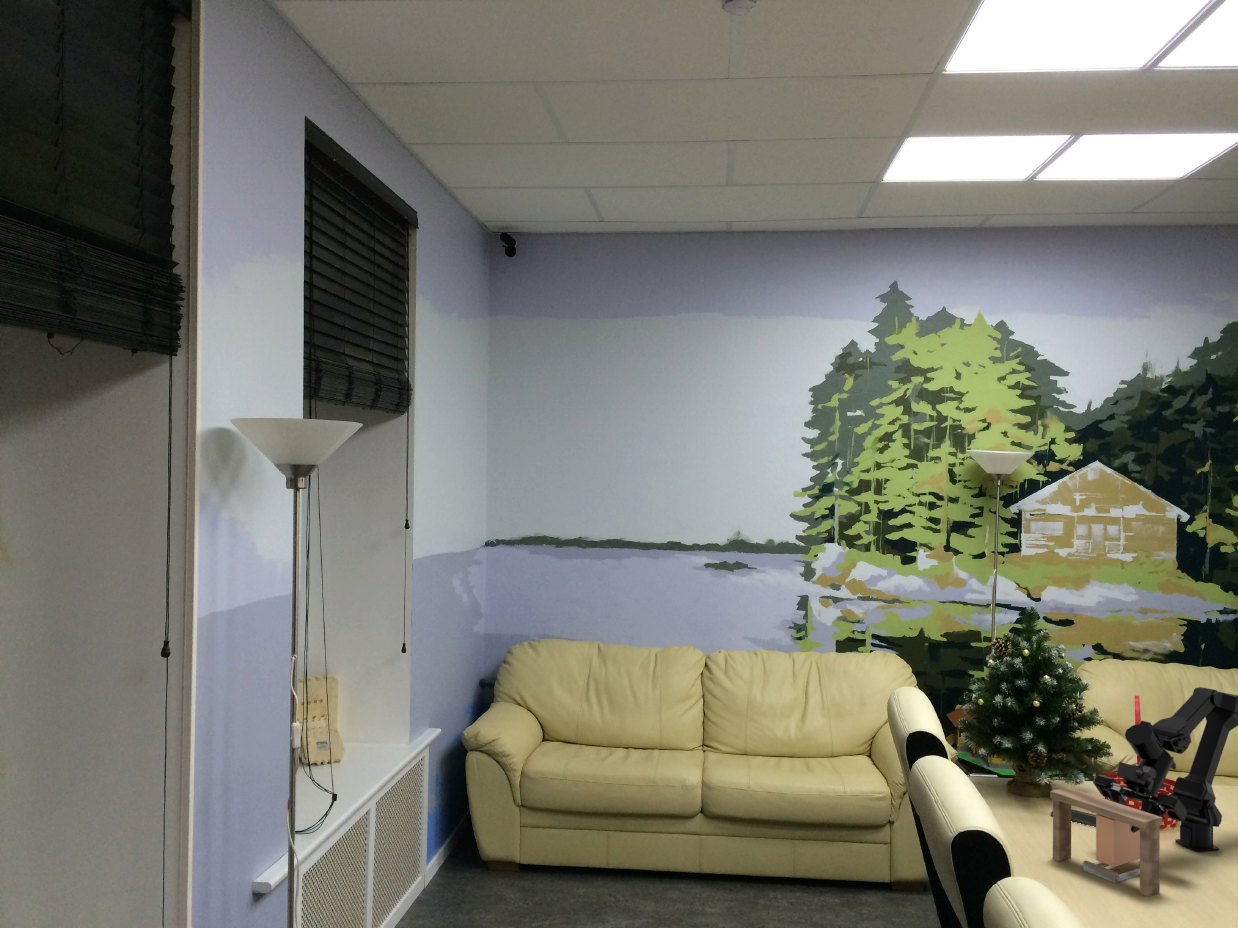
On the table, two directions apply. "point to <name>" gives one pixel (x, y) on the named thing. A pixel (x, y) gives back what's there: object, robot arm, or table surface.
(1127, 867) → the table surface
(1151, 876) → the walnut bridge
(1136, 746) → the robot arm
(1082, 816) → the phone
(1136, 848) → the terracotta panel
